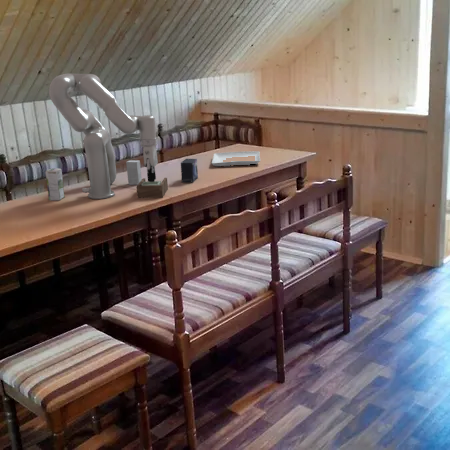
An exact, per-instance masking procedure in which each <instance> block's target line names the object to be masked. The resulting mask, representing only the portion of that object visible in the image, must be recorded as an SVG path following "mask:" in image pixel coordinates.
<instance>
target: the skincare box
mask: <svg viewBox="0 0 450 450" xmlns="http://www.w3.org/2000/svg"><path fill="white" fill-rule="evenodd" d="M125 164H126V171H127V172H126V173H127V181H128V183H127V184H128V185H129V186H137V185H138V184H139V183H140V181H141V180H142V179H143V178H142V168H141V161H140V160H137V159H136V160H131V159H129V160H128V161H126V162H125Z"/></svg>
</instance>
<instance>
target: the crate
mask: <svg viewBox="0 0 450 450" xmlns="http://www.w3.org/2000/svg"><path fill="white" fill-rule="evenodd" d="M153 173H154V169H153ZM161 182H162V180H157V181H156V180H155V181H148V180H147V181H146V182H143V183H142V184H141V186H149V185H160V184H161Z"/></svg>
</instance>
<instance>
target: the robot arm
mask: <svg viewBox="0 0 450 450" xmlns="http://www.w3.org/2000/svg"><path fill="white" fill-rule="evenodd" d="M101 82H102V81H101V79H100V77H98V76H97V75H96V74H93V73H64V74H60V75H59V74H58V75H57V76H55V77H54V78H53V79H52V80H51V82H50V85H49V88H48V89H49V90H48V92H49V98H50V100H51V102H52V104H53V105H54V107H55V108H56V109H57V110H58V111H59V112H60V114H61V115H62V117H63V118H64V119H65V121H66V122H67V123H68V124H69V125H70V126H71V128H72V129H73V130H74V131H76V132H77V133H82V134H84V135H85V137H84V139H83V146H84V151H85V156H86V162H87V170H88V179H89V186H90V187H82V188H81V190H82V192H83V193H84V194H86V193H88V194H87V197H88V199H92V200H100V199H108V198H111V197H114V196H115V191H113V190H112V187H111V184H110V177H109V168H108V159H107V153H106V148H105V145H106V144H107V143H108V141H109V135H110V134H109V135H108V133H109V132H108V130H107V129H106V128H105V126H104V125H102V123H101V122H100V120H99V119H98V118H97V117H96V116H95V114H93V113H92V111H89V110H87V109H82V108H81V107H80V106H79V104H78V103H77V102H76V101H75V100H74V99H73V97H71V96H70V93H73V92H74V93H83V94H84V95H85V96H86V97H87V98H89V100H90V101H92V102H93V103H94V104H95V105H96V106H97V107H98V108H99V109H100V110H101V112H103V114H104V115H105V116H106V118H107V119H108V120H109V122H111V123H112V124H113V125H114V126H115V127H116V128H117V129H118V130H119V131H121V132H122V133H123V134H126V135H133V134H134V133H135V132H137V131H139V141H140V147H142V152H143V153H142V155H143V165H144V167H145V168H146V172H147V174H146V175H147V181H156V179H157V176H156V175H157V174H156V166H157V165H158V162H159V161H158V154H157V147H156V146H157V145H158V143H157V132H156V131H157V130H156V120H155V117H154V116H153V115H150V114H149V115H148V114H147V115H133V114H132V115H128V114H127V113H126V112H125V111H124V110H123V109H122V108H121V107H120V106H119V103H118V102H117V99H116V97H115V96H114V94H112V93H111V91H109V90H108V89H107V88H106V87H105V85H103V84H102V83H101ZM153 169H154V173H153Z"/></svg>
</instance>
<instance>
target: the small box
mask: <svg viewBox="0 0 450 450" xmlns="http://www.w3.org/2000/svg"><path fill="white" fill-rule="evenodd" d="M198 170H199V169H198V158H185V159H183V160H182V161H181V162H180V173H181V175H180V176H181V183H187V184H188V183H194V182H195V181H197V179H198V178H199V175H198Z"/></svg>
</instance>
